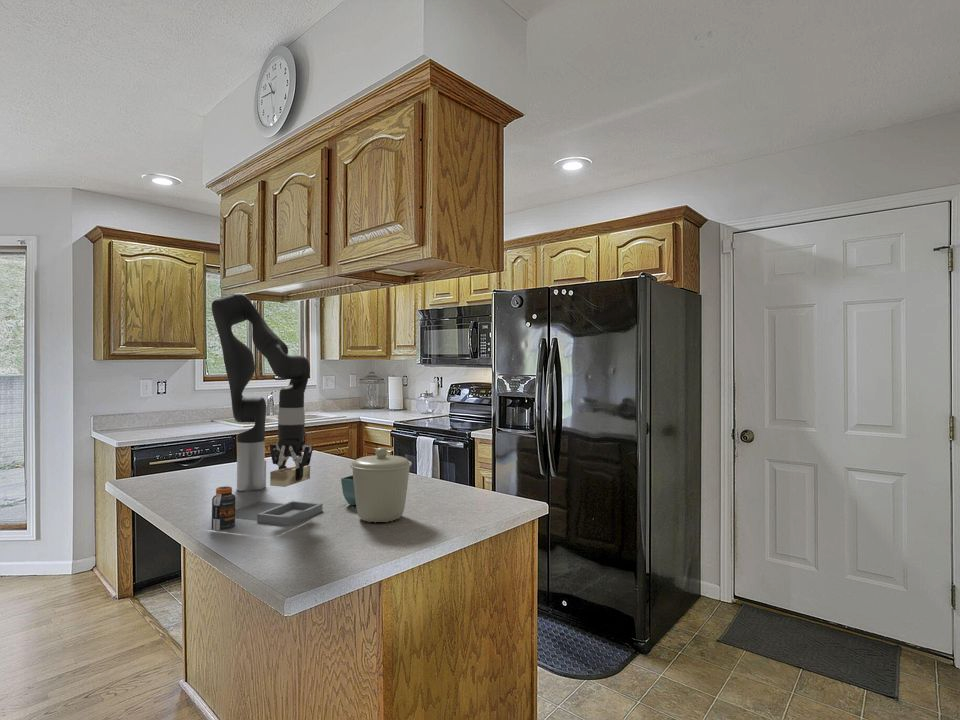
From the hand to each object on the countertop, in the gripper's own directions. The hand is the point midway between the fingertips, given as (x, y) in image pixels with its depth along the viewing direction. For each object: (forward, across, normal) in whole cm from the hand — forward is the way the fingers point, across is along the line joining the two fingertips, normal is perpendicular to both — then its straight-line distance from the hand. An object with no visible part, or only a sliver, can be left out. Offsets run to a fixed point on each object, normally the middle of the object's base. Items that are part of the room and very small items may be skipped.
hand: (290, 479), depth 164 cm
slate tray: (+11, 0, 0) cm, 11 cm away
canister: (+12, +26, +8) cm, 29 cm away
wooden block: (+1, 0, 0) cm, 1 cm away
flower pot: (+12, +12, +20) cm, 26 cm away
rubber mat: (+11, -13, +2) cm, 18 cm away
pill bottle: (+12, -11, -15) cm, 22 cm away
